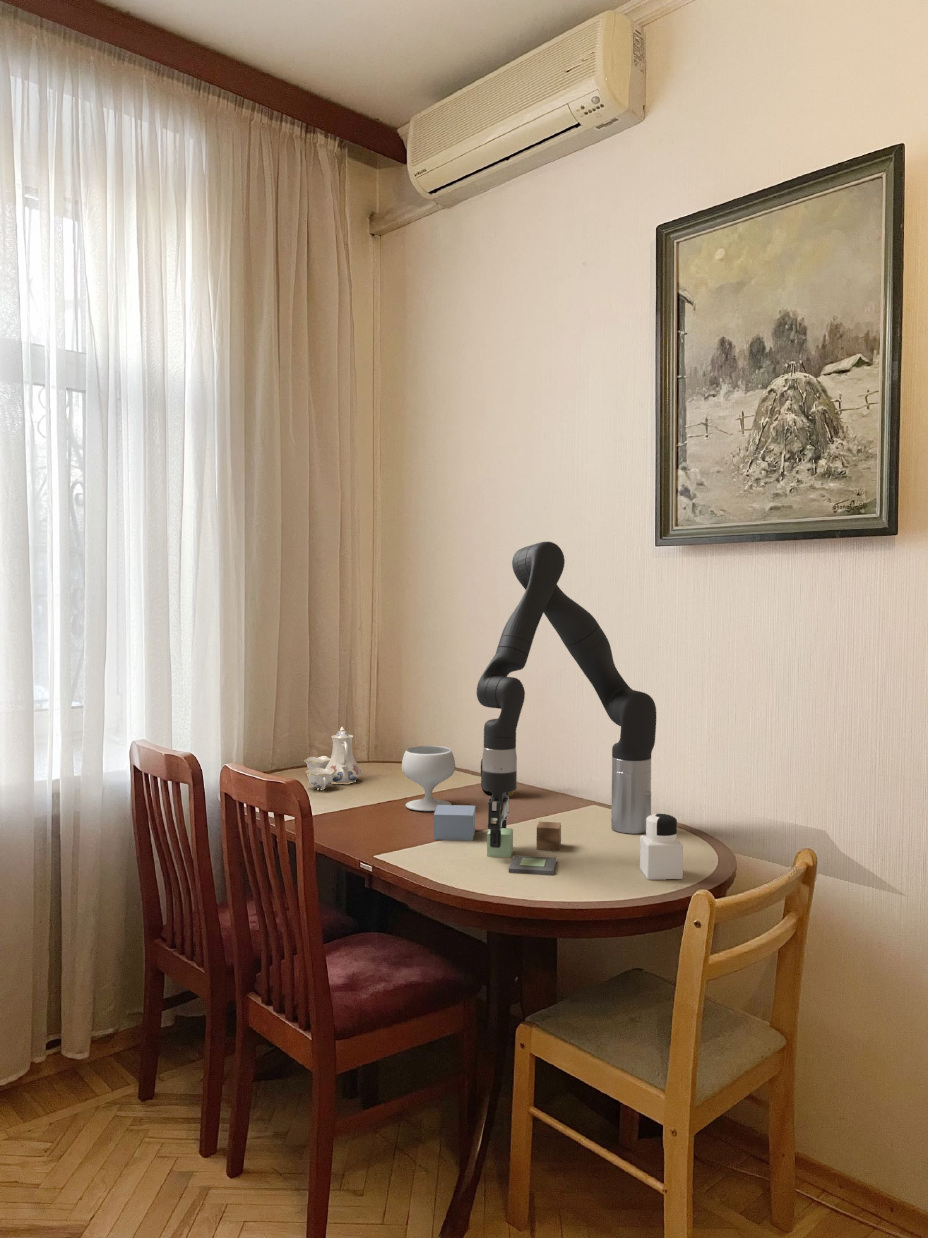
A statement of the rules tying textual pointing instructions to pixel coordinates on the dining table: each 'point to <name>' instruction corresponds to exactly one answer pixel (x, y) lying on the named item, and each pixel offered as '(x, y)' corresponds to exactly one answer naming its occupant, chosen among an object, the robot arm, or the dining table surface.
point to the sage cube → (506, 844)
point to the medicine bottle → (661, 849)
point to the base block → (454, 822)
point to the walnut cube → (549, 836)
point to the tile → (532, 865)
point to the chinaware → (334, 763)
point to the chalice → (428, 772)
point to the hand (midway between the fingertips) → (498, 841)
